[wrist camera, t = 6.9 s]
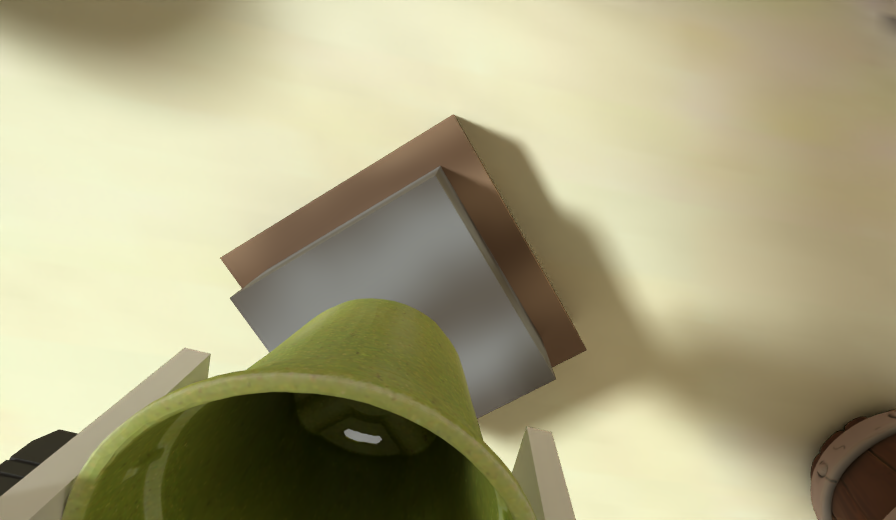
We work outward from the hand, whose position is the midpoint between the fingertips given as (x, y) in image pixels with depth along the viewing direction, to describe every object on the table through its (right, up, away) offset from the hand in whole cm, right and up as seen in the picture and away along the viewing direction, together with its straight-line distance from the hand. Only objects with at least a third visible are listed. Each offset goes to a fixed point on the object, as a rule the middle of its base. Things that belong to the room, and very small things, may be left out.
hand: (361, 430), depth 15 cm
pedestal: (0, +3, +20) cm, 20 cm away
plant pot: (0, +1, +3) cm, 3 cm away
